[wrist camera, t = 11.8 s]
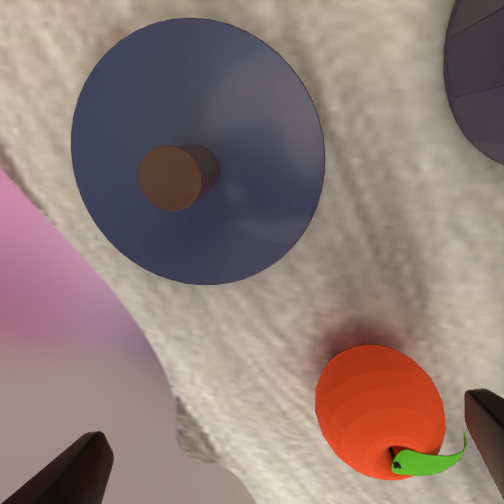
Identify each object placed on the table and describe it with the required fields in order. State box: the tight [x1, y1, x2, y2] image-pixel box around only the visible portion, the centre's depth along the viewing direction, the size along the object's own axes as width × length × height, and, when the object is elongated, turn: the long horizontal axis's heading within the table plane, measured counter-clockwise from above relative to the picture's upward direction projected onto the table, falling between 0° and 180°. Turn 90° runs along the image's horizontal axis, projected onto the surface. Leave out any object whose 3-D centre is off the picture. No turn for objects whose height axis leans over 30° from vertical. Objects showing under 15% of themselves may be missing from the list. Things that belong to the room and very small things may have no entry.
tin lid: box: [71, 18, 325, 285], centre depth 15 cm, size 14×14×6 cm
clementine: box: [315, 345, 467, 480], centre depth 18 cm, size 8×7×7 cm
